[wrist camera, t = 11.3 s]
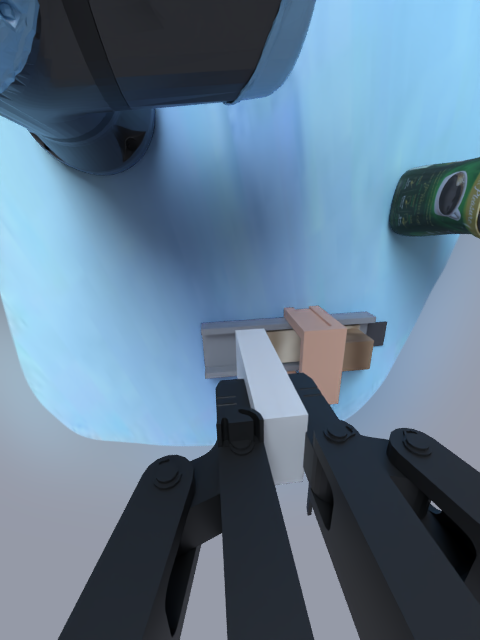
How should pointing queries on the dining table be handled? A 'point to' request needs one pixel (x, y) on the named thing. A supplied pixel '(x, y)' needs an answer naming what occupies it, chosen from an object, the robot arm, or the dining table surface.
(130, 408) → the dining table surface
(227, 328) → the rail
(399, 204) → the coffee jar
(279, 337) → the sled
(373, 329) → the dark grey flat block
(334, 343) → the tunnel
